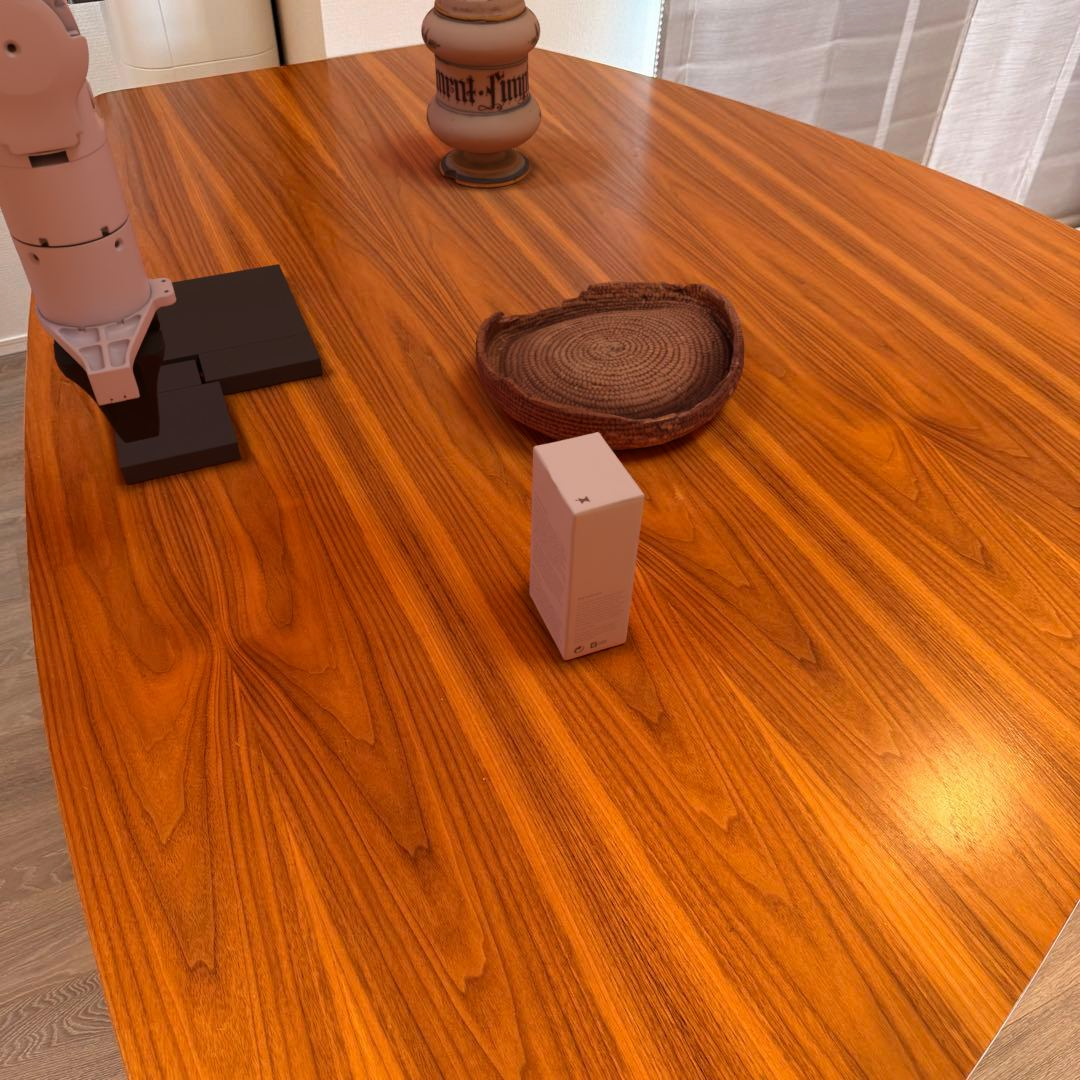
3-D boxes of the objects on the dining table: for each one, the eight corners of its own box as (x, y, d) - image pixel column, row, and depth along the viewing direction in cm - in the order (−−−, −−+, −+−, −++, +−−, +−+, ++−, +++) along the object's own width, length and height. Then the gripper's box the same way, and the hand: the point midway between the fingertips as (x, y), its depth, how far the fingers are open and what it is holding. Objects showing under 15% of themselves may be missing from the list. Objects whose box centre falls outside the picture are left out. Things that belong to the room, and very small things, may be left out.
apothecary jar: (406, 168, 106) (392, -16, 93) (484, 136, 112) (480, -40, 100) (485, 203, 100) (481, 13, 88) (562, 168, 107) (569, -15, 94)
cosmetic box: (628, 644, 59) (648, 496, 50) (563, 663, 58) (572, 516, 49) (588, 575, 63) (600, 428, 54) (526, 592, 62) (529, 445, 53)
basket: (615, 285, 89) (619, 234, 86) (797, 378, 79) (810, 326, 76) (425, 382, 78) (421, 328, 74) (609, 506, 68) (615, 451, 64)
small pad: (126, 485, 68) (119, 467, 67) (111, 393, 76) (105, 376, 75) (241, 459, 70) (237, 441, 69) (216, 372, 78) (211, 355, 77)
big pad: (114, 418, 74) (108, 401, 72) (96, 312, 84) (91, 296, 83) (323, 374, 78) (320, 358, 77) (282, 279, 89) (279, 263, 87)
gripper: (171, 274, 46) (229, 491, 55) (135, 153, 55) (190, 356, 65) (9, 302, 44) (98, 522, 53) (1, 171, 53) (77, 378, 63)
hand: (140, 433), depth 59 cm, fingers closed
